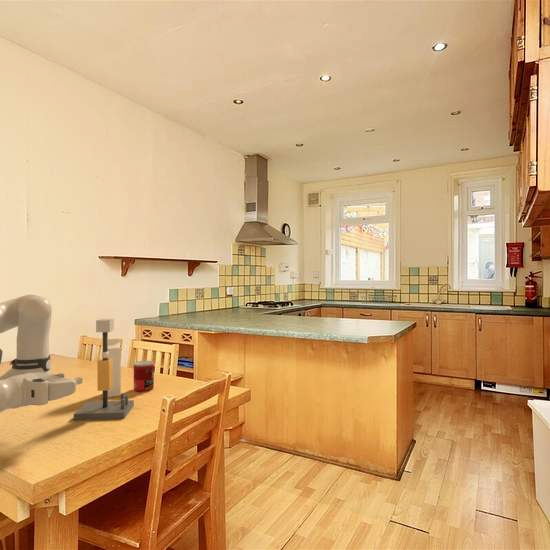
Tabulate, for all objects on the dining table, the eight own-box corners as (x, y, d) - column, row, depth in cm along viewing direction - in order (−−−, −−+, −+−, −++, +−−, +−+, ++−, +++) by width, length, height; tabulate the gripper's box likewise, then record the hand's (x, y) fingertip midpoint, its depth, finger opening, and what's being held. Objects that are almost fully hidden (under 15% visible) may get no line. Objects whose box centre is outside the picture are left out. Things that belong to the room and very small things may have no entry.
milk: (120, 395, 151) (120, 339, 151) (103, 398, 148) (104, 340, 148) (118, 391, 157) (118, 337, 156) (102, 393, 154) (102, 338, 153)
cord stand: (73, 420, 126) (73, 322, 126) (87, 407, 138) (87, 317, 138) (124, 418, 128) (124, 321, 128) (133, 405, 140) (133, 317, 140)
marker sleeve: (97, 390, 131) (97, 361, 131) (101, 387, 135) (101, 358, 135) (109, 390, 131) (109, 360, 131) (112, 387, 135) (112, 358, 135)
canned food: (147, 392, 155) (147, 365, 155) (129, 391, 157) (129, 364, 157) (157, 387, 163) (157, 361, 162) (140, 386, 164) (140, 360, 164)
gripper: (6, 394, 116) (52, 383, 128) (45, 406, 105) (91, 393, 117) (6, 373, 116) (52, 363, 128) (45, 383, 105) (91, 372, 117)
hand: (71, 377), depth 122 cm, fingers open, 8 cm apart
